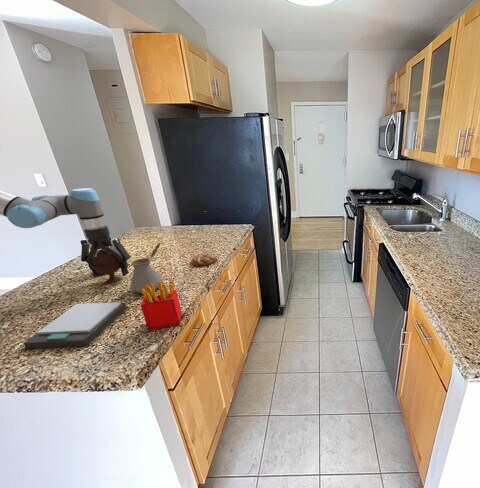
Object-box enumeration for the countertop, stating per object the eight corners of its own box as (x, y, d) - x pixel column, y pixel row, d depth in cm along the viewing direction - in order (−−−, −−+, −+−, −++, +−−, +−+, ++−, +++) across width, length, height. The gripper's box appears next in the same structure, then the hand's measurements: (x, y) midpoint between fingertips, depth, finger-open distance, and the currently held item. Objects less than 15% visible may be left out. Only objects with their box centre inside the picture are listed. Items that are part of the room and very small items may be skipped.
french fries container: (153, 318, 90) (142, 284, 85) (182, 313, 94) (174, 279, 88) (148, 331, 84) (136, 295, 79) (179, 325, 87) (170, 289, 82)
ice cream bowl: (91, 284, 111) (79, 253, 106) (118, 273, 121) (109, 243, 115) (108, 289, 108) (96, 257, 102) (134, 277, 118) (125, 246, 112)
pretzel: (220, 257, 138) (219, 251, 136) (212, 266, 128) (211, 260, 126) (197, 257, 137) (196, 251, 136) (188, 267, 127) (186, 260, 126)
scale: (26, 349, 77) (21, 340, 76) (78, 310, 95) (75, 303, 94) (86, 346, 78) (82, 338, 77) (126, 308, 96) (124, 301, 95)
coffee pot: (155, 296, 103) (145, 262, 98) (125, 297, 103) (114, 263, 97) (180, 271, 123) (173, 242, 118) (155, 271, 123) (147, 242, 117)
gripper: (131, 224, 109) (144, 270, 118) (72, 224, 108) (90, 271, 116) (119, 229, 102) (134, 278, 111) (56, 230, 101) (76, 279, 109)
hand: (111, 274), depth 113 cm, fingers closed on ice cream bowl, 11 cm apart
